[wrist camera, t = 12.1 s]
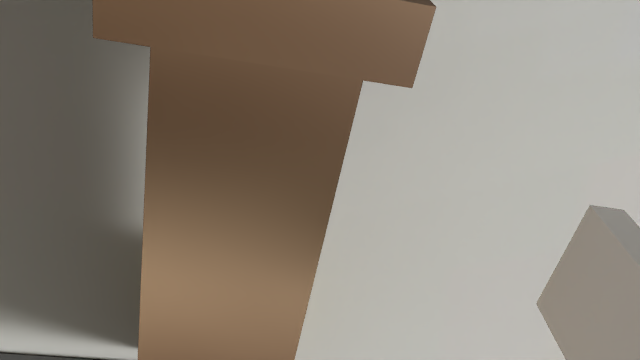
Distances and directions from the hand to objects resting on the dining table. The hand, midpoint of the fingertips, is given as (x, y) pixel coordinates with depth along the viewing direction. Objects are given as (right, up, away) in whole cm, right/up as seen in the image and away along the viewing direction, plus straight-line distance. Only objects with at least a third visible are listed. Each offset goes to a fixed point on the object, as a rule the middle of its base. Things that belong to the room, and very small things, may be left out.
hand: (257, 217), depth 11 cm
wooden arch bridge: (-2, +1, +7) cm, 7 cm away
